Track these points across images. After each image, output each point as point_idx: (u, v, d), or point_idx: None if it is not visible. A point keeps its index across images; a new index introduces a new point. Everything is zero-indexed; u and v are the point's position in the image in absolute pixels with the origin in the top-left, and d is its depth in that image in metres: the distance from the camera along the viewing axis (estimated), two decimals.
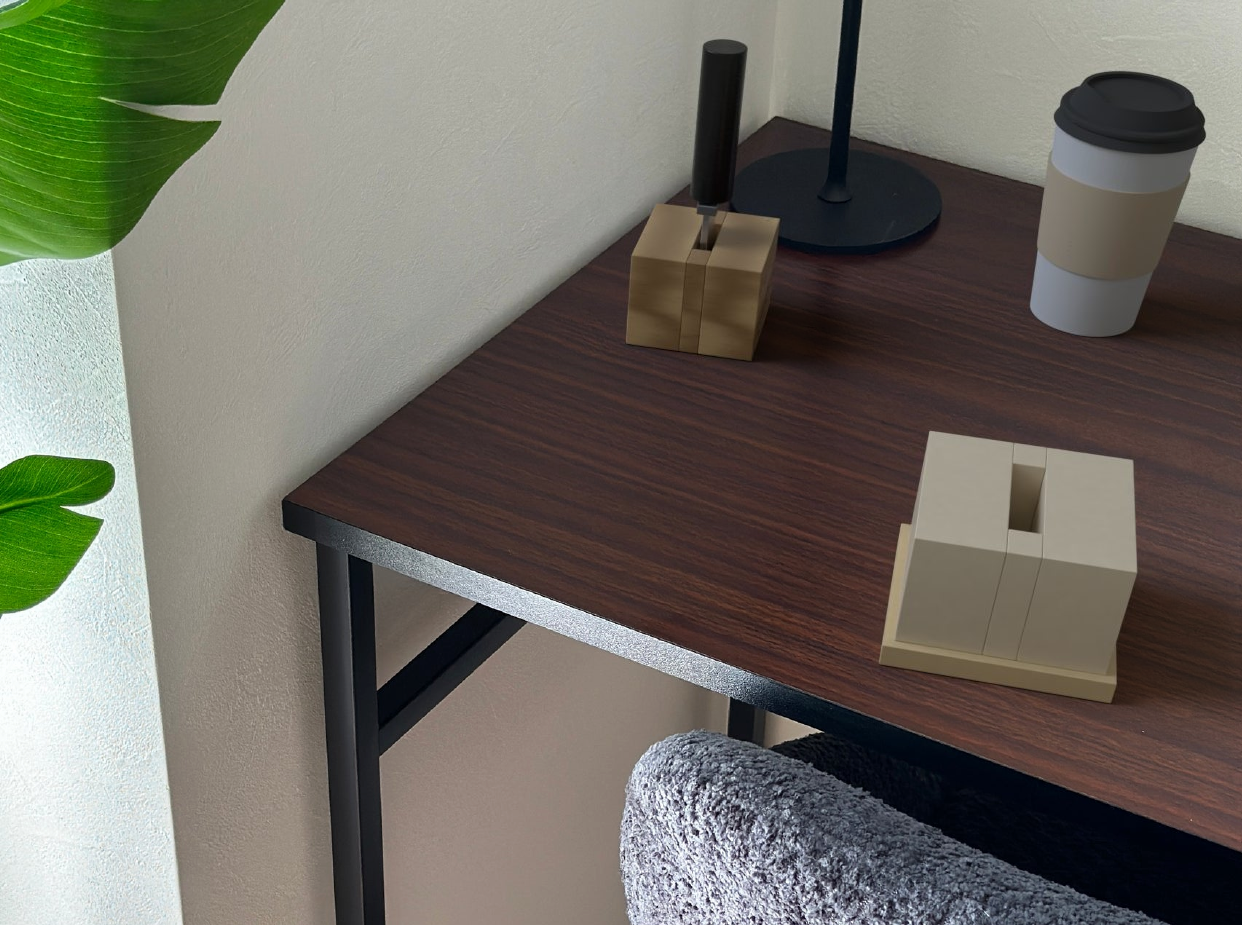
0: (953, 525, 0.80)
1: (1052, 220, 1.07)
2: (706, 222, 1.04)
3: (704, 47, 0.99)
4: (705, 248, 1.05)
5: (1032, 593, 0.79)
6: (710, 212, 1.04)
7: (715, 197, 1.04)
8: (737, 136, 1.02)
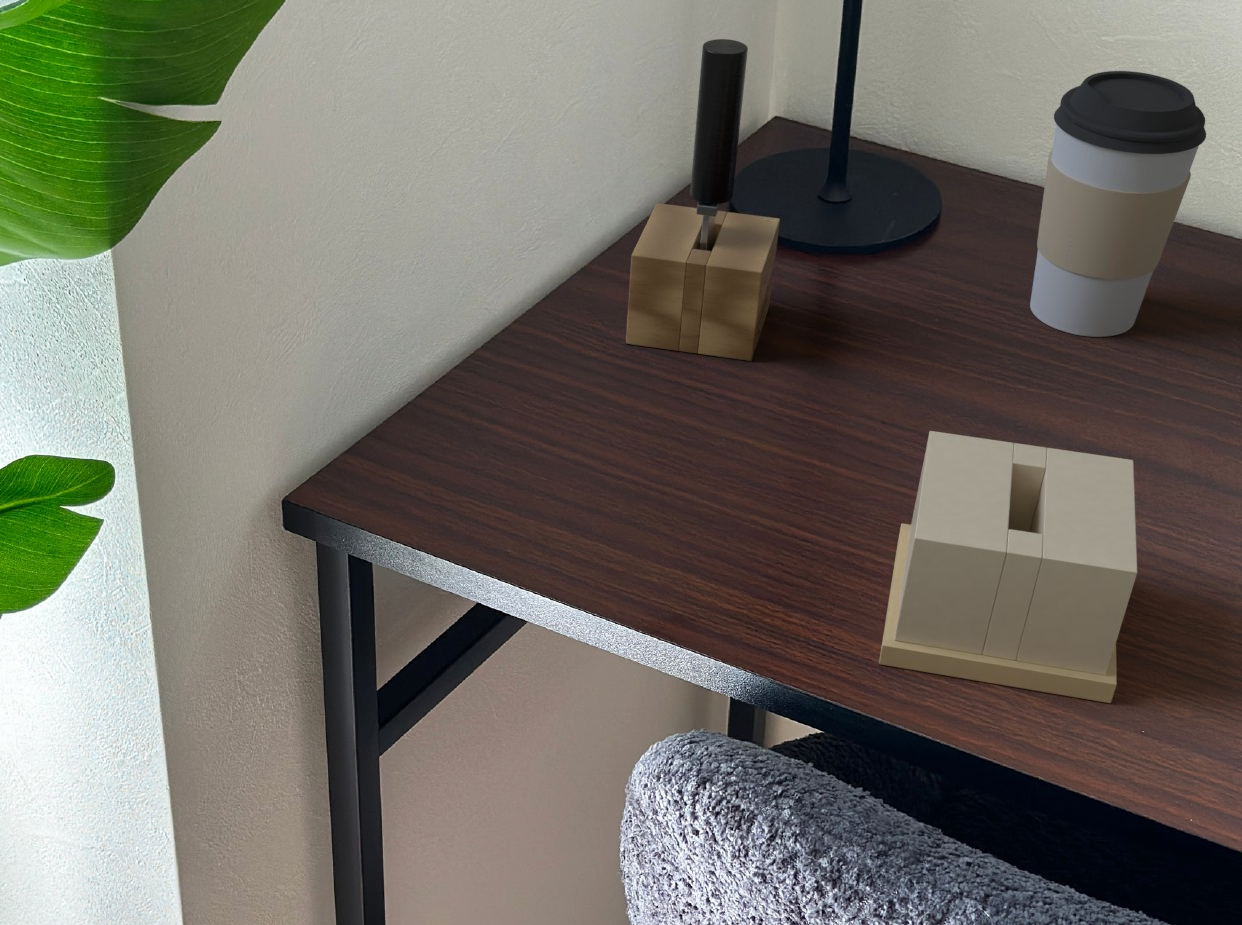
0: (953, 525, 0.80)
1: (1052, 220, 1.07)
2: (706, 222, 1.04)
3: (704, 47, 0.99)
4: (705, 248, 1.05)
5: (1032, 593, 0.79)
6: (710, 212, 1.04)
7: (715, 197, 1.04)
8: (737, 136, 1.02)
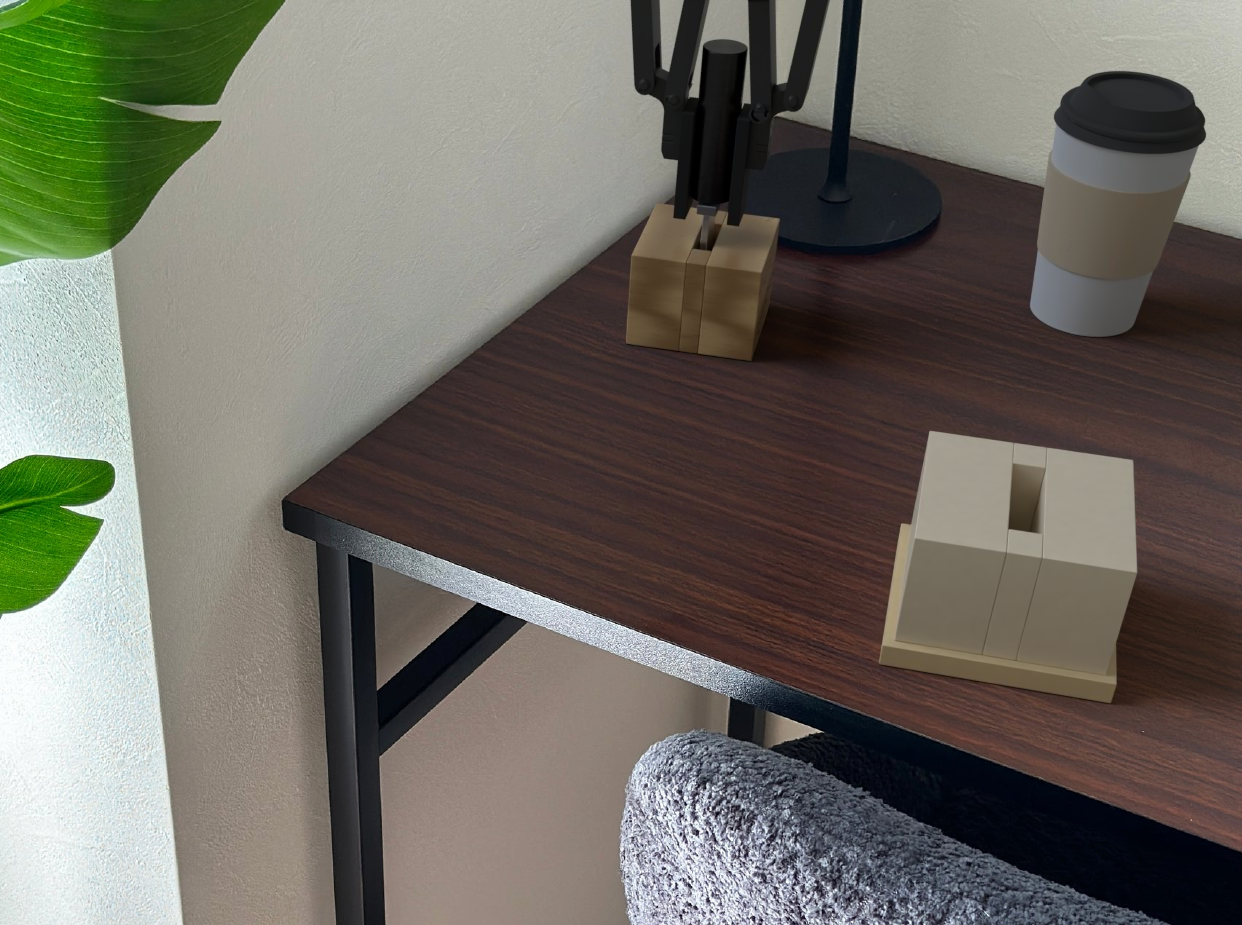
0: (953, 525, 0.80)
1: (1052, 220, 1.07)
2: (706, 222, 1.04)
3: (704, 47, 0.99)
4: (705, 248, 1.05)
5: (1032, 593, 0.79)
6: (710, 212, 1.04)
7: (715, 197, 1.04)
8: None
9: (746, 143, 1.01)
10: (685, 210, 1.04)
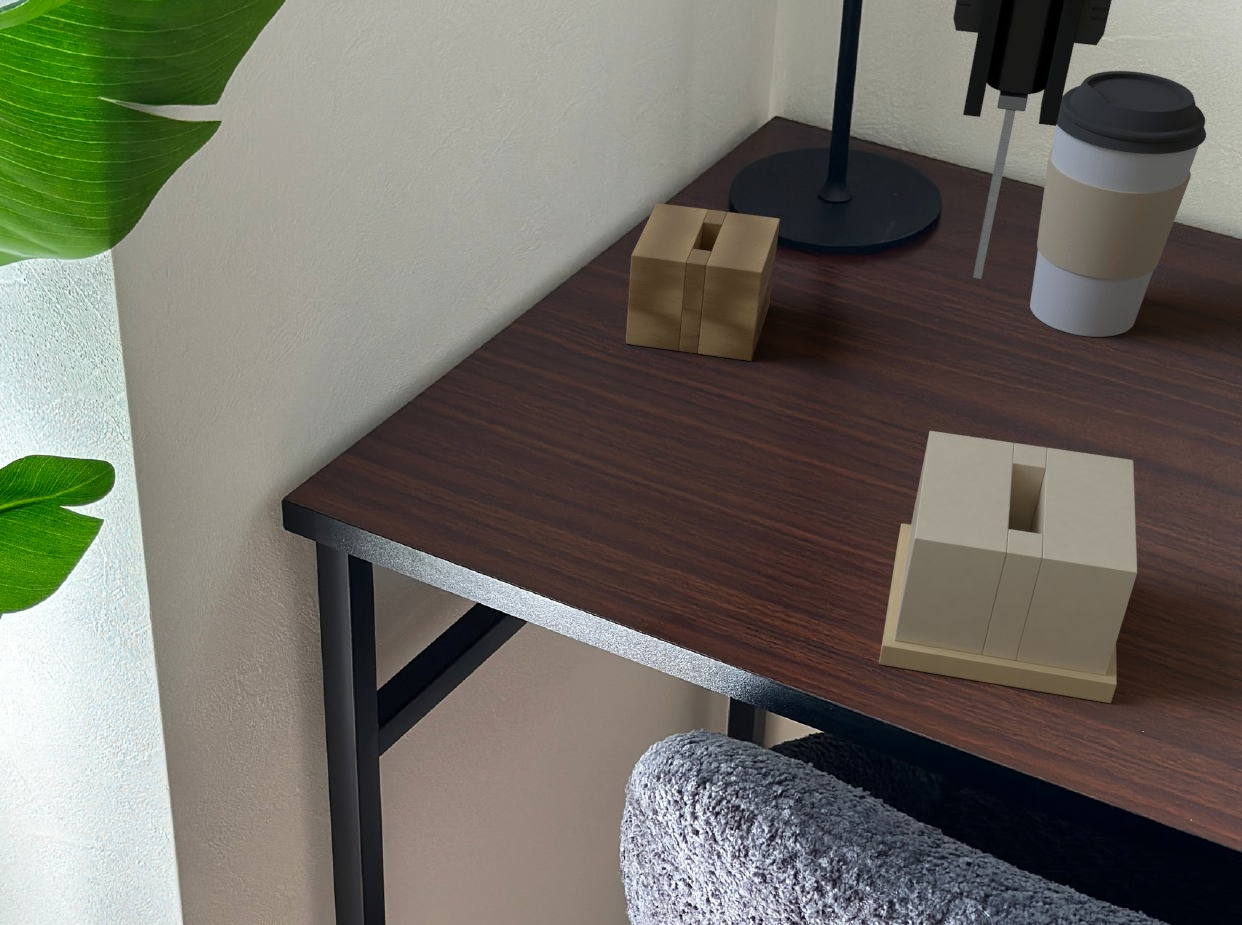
0: (953, 525, 0.80)
1: (1052, 220, 1.07)
2: (1010, 120, 0.76)
3: None
4: (1004, 157, 0.77)
5: (1032, 593, 0.79)
6: (1017, 105, 0.75)
7: (1025, 84, 0.75)
8: None
9: (1080, 5, 0.72)
10: (981, 103, 0.76)
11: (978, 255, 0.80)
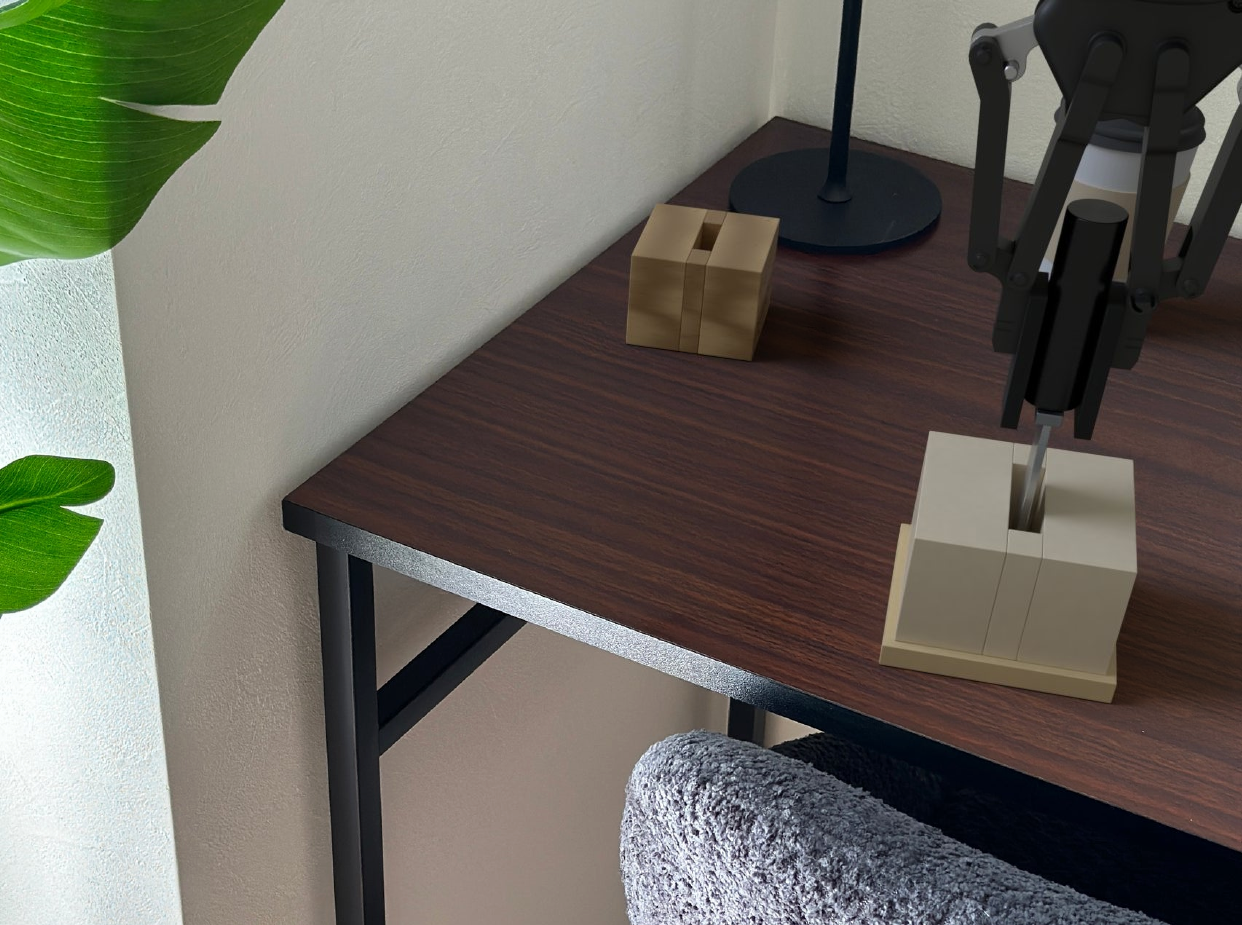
0: (953, 525, 0.80)
1: None
2: (1046, 434, 0.78)
3: (1070, 212, 0.73)
4: (1040, 466, 0.79)
5: (1032, 593, 0.79)
6: (1054, 422, 0.78)
7: (1062, 403, 0.77)
8: None
9: (1116, 338, 0.75)
10: (1018, 418, 0.78)
11: None
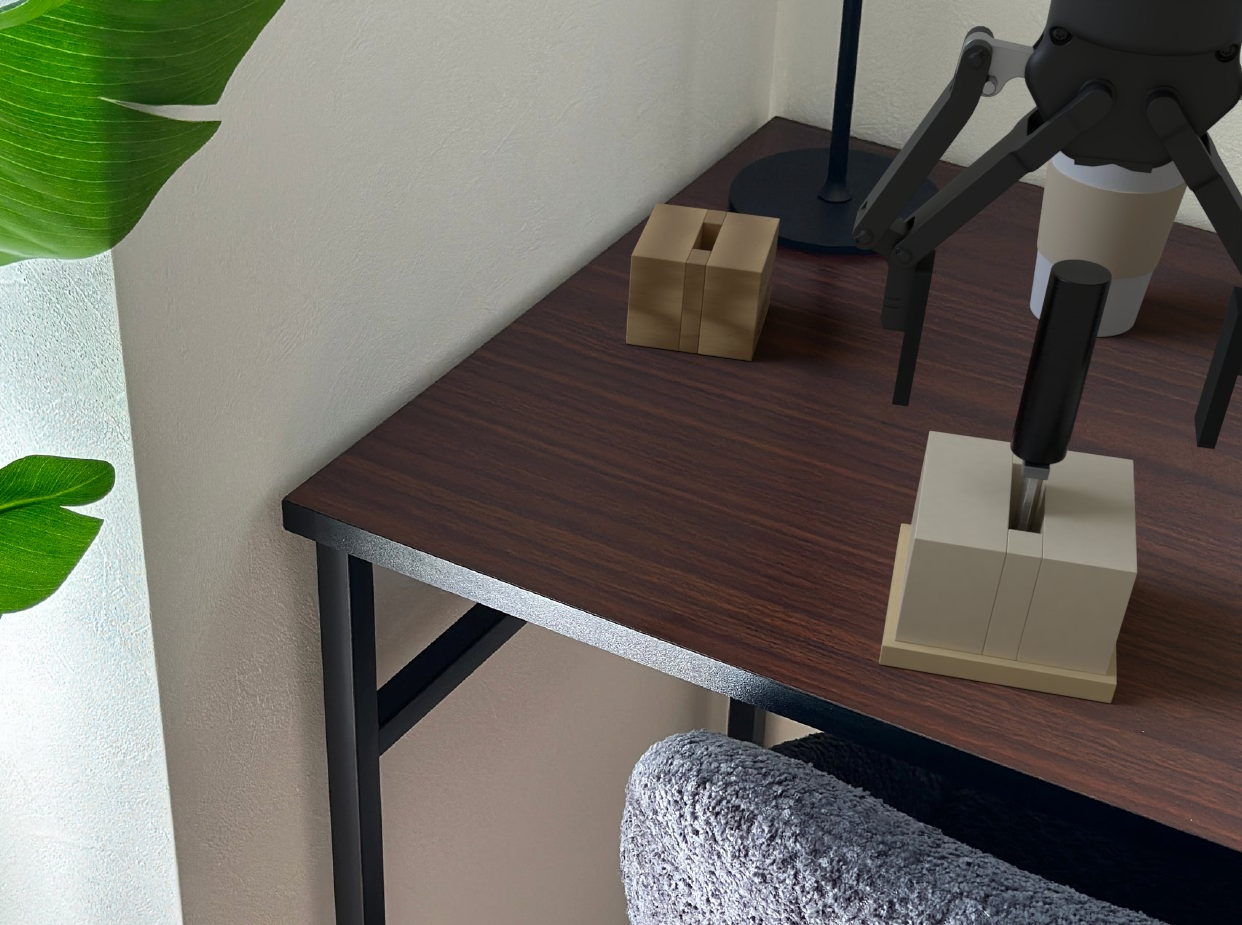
0: (953, 525, 0.80)
1: (1052, 220, 1.07)
2: (1033, 486, 0.80)
3: (1055, 273, 0.74)
4: (1027, 517, 0.81)
5: (1032, 593, 0.79)
6: (1041, 475, 0.79)
7: (1048, 456, 0.79)
8: (1084, 382, 0.77)
9: None
10: (909, 395, 0.79)
11: None
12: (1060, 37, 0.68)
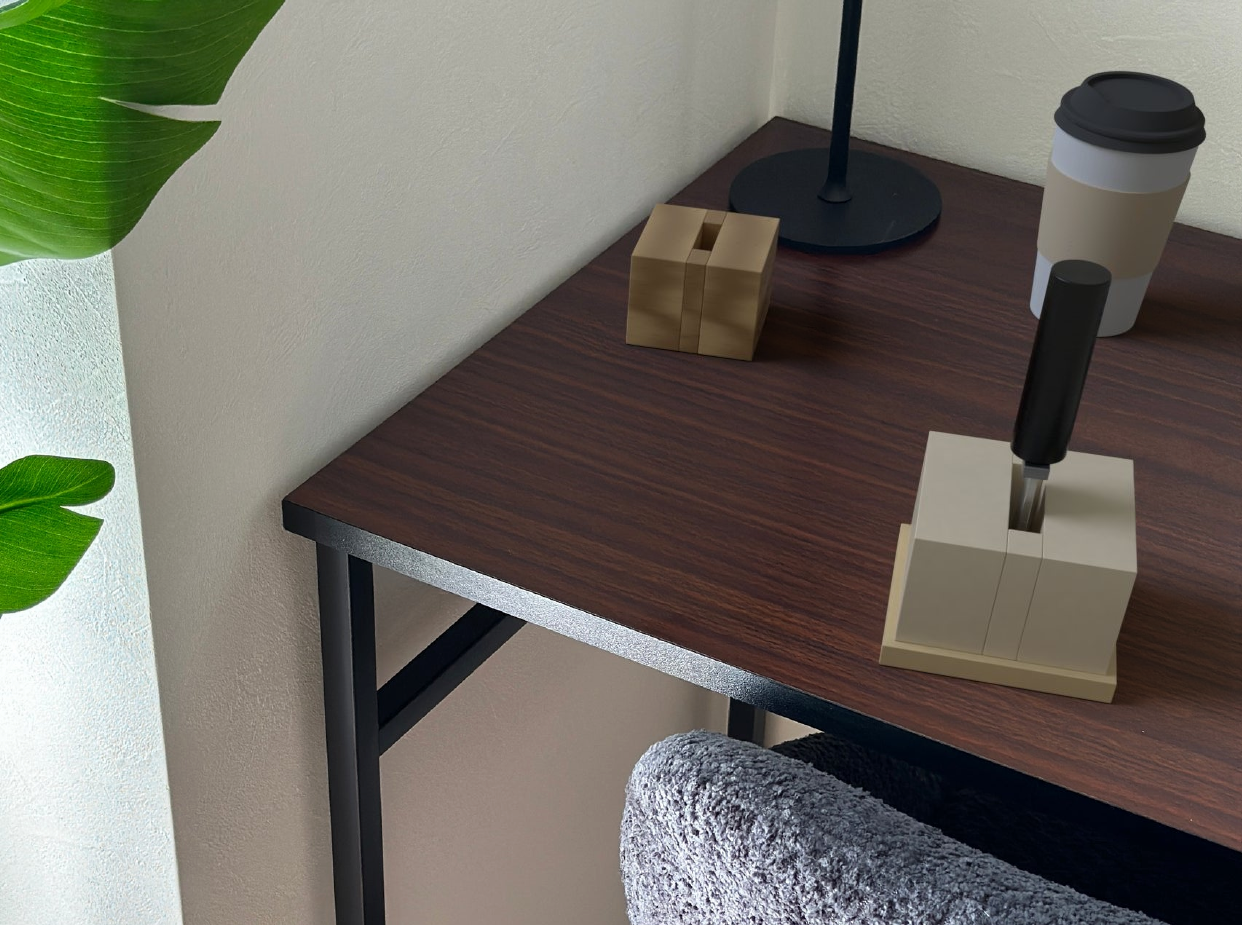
0: (953, 525, 0.80)
1: (1052, 220, 1.07)
2: (1033, 486, 0.80)
3: (1055, 273, 0.74)
4: (1027, 517, 0.81)
5: (1032, 593, 0.79)
6: (1041, 475, 0.79)
7: (1048, 456, 0.79)
8: (1084, 382, 0.77)
9: None
10: None
11: None
12: None
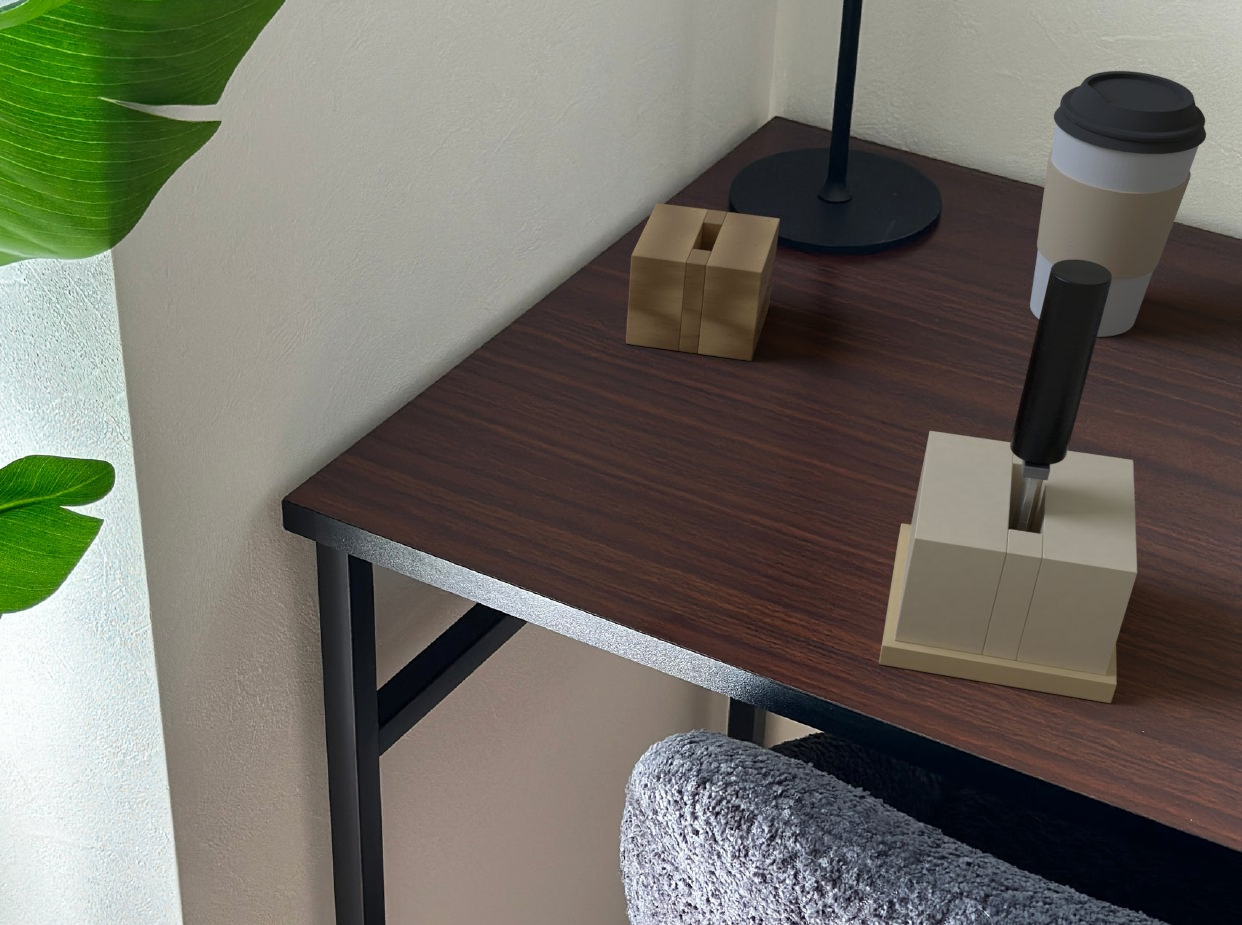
0: (953, 525, 0.80)
1: (1052, 220, 1.07)
2: (1033, 486, 0.80)
3: (1055, 273, 0.74)
4: (1027, 517, 0.81)
5: (1032, 593, 0.79)
6: (1041, 475, 0.79)
7: (1048, 456, 0.79)
8: (1084, 382, 0.77)
9: None
10: None
11: None
12: None
